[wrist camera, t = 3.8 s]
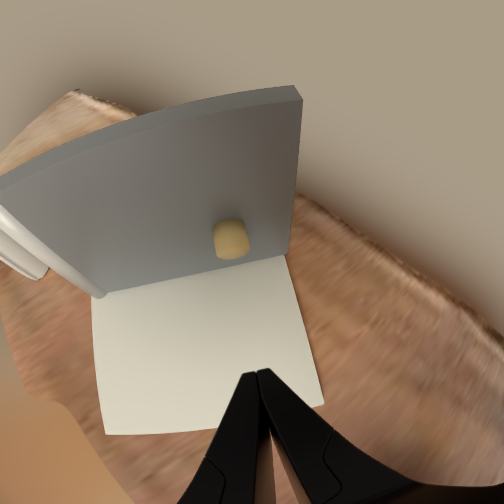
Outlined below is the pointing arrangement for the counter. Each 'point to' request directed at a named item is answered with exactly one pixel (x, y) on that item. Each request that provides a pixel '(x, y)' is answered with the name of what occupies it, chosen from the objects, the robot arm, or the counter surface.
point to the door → (162, 192)
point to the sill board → (197, 346)
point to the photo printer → (20, 258)
